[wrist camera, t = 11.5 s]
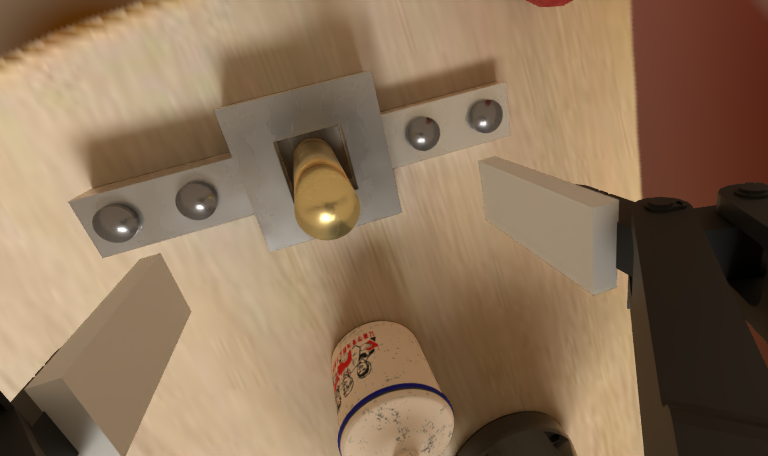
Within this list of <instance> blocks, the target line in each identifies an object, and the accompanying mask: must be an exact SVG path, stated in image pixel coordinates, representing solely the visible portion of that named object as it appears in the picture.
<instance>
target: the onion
mask: <svg viewBox="0 0 768 456" xmlns="http://www.w3.org/2000/svg"><path fill="white" fill-rule="evenodd" d="M526 1H528V2H530V3H532V4H534V5H537V6H539V7H553V6H564V5H565V4H567V3H569V2H571V1H573V0H526Z"/></svg>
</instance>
